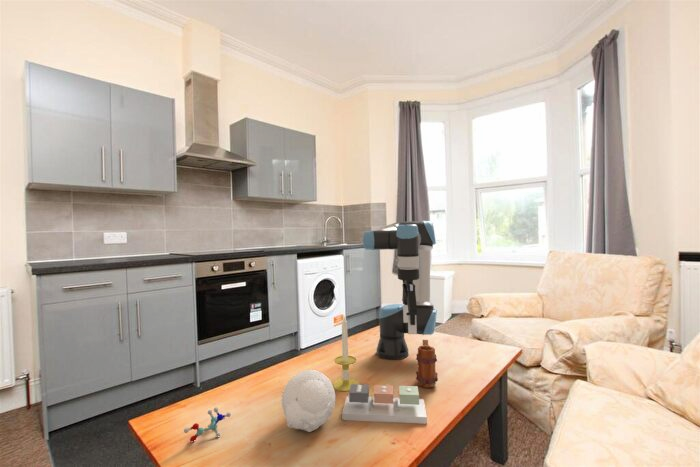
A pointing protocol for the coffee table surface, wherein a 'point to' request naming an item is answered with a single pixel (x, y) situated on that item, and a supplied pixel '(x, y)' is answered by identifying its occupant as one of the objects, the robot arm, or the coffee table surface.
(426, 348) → the mug
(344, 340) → the candle
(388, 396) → the tile terracotta
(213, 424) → the molecular model
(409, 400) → the tile sage
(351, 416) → the board
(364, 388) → the tile charcoal
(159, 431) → the coffee table surface
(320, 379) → the white rounded lump
